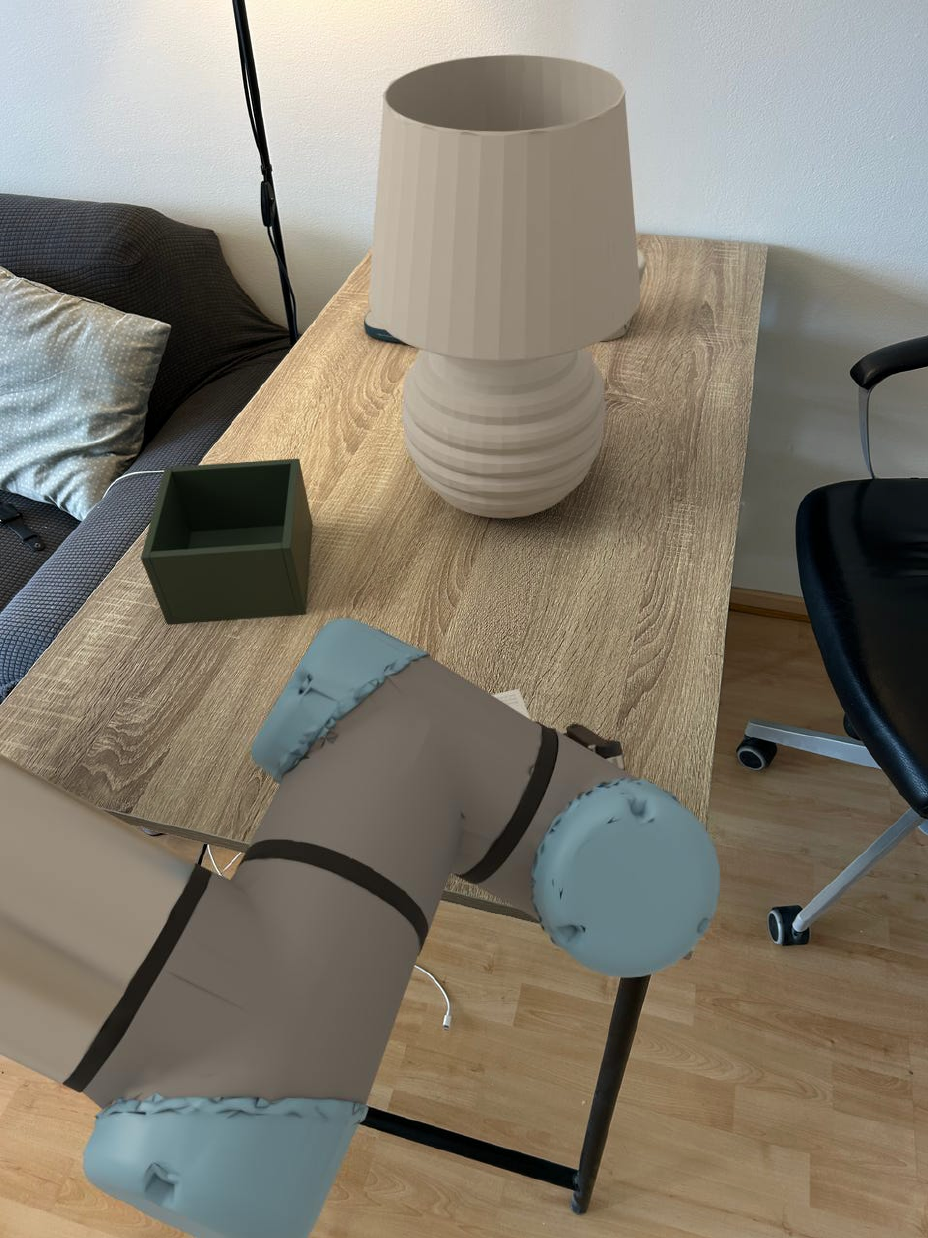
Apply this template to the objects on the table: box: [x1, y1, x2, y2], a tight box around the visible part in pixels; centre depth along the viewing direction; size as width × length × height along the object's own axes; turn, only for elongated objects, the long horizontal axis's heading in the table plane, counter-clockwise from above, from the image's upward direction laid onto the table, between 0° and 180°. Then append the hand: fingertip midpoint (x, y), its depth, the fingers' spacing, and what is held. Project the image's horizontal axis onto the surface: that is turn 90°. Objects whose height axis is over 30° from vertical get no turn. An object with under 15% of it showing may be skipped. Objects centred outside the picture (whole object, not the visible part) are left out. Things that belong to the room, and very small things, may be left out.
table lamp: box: [367, 53, 641, 520], centre depth 86 cm, size 25×25×40 cm
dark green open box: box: [140, 458, 314, 625], centre depth 89 cm, size 14×14×9 cm
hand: (479, 745), depth 72 cm, fingers closed on cosmetic box, 6 cm apart
